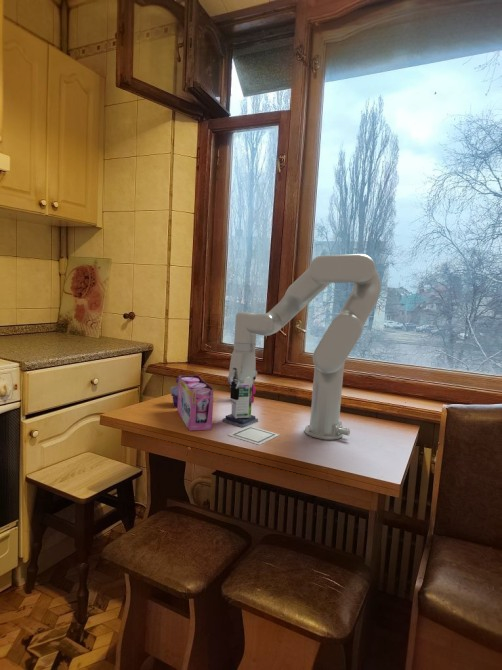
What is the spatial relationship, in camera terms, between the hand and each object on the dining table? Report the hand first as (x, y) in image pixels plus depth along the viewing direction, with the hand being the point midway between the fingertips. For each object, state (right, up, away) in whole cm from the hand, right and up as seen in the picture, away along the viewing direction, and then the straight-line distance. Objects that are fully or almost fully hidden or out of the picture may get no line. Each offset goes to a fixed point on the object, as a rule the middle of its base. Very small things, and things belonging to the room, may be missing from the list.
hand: (241, 396), depth 143 cm
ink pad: (0, -9, +1) cm, 9 cm away
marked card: (+4, -11, -12) cm, 17 cm away
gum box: (-17, -8, 0) cm, 19 cm away
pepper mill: (+1, -6, +29) cm, 29 cm away
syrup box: (0, -7, +1) cm, 7 cm away
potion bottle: (-24, -6, +16) cm, 30 cm away
